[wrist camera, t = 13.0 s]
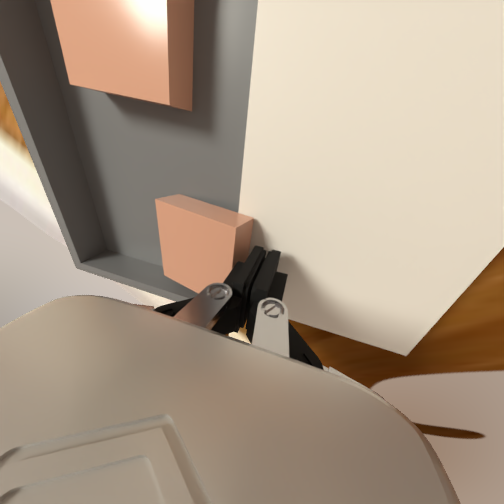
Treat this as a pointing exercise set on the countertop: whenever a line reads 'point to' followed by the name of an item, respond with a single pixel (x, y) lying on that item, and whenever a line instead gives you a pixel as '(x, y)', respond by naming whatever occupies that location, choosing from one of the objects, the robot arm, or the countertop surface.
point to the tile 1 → (129, 48)
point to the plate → (376, 158)
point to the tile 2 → (200, 240)
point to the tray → (129, 139)
